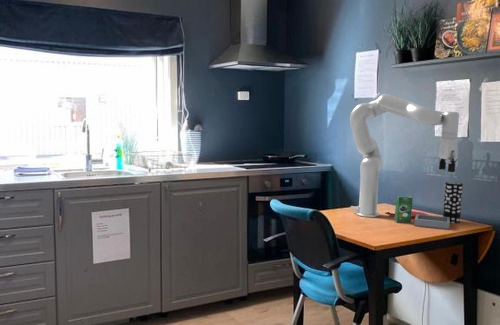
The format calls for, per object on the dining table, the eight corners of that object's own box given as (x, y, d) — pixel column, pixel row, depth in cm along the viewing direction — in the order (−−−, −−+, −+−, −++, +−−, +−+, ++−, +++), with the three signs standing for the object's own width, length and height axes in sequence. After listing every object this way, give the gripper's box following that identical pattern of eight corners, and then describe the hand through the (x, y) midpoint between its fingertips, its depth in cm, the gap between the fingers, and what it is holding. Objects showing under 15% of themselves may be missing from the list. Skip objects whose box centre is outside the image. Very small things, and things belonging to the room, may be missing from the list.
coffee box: (408, 221, 259) (410, 196, 258) (411, 222, 256) (413, 197, 255) (394, 221, 257) (395, 196, 256) (396, 222, 255) (398, 197, 253)
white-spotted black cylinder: (461, 223, 258) (464, 184, 256) (444, 222, 259) (447, 183, 257) (458, 220, 266) (460, 182, 264) (441, 219, 267) (444, 181, 265)
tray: (414, 226, 248) (414, 219, 248) (416, 220, 261) (416, 214, 261) (449, 229, 242) (449, 222, 242) (449, 224, 255) (449, 217, 255)
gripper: (434, 135, 260) (431, 168, 262) (450, 137, 243) (447, 172, 245) (448, 135, 260) (445, 168, 262) (465, 137, 243) (462, 173, 245)
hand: (446, 170), depth 253 cm, fingers open, 9 cm apart
